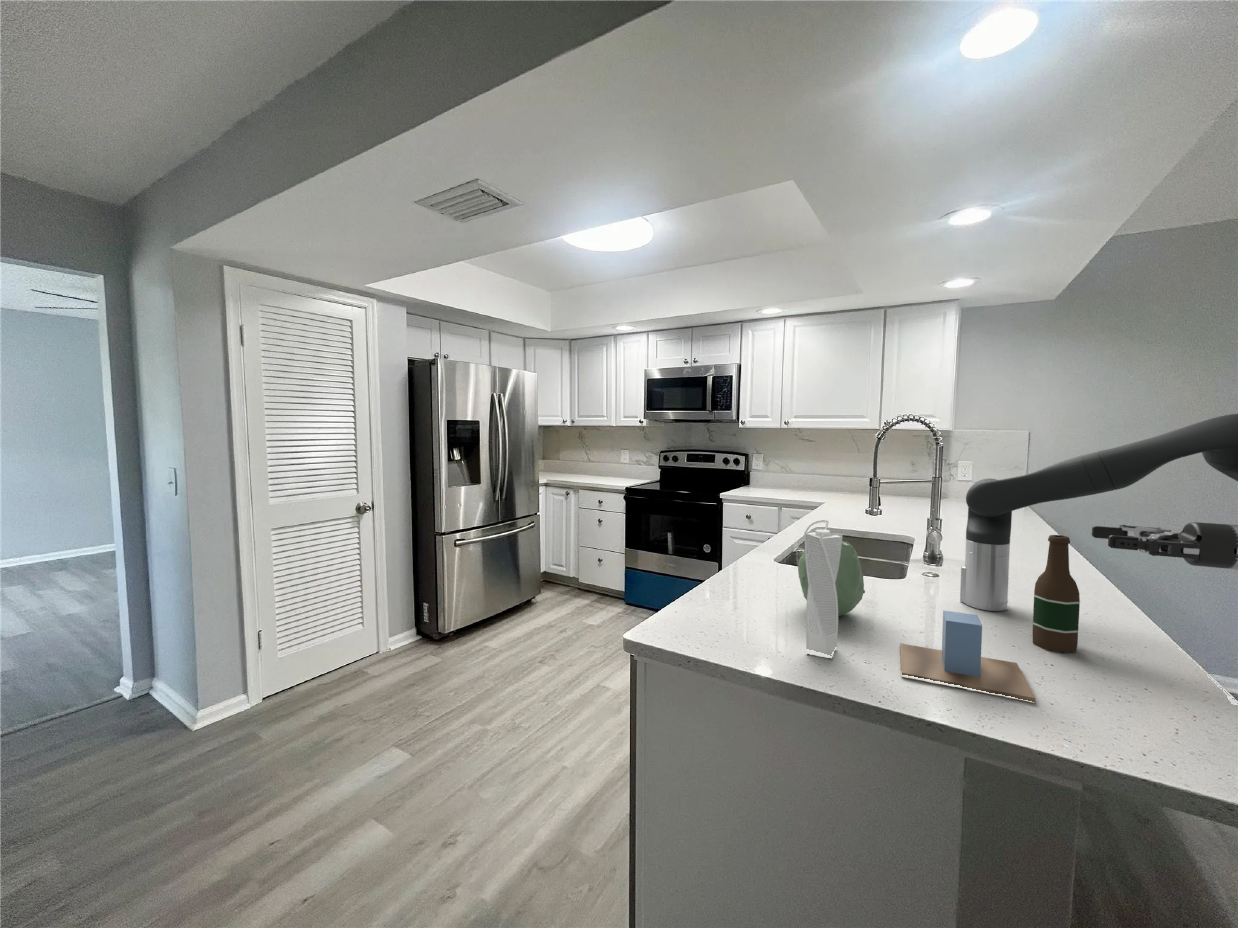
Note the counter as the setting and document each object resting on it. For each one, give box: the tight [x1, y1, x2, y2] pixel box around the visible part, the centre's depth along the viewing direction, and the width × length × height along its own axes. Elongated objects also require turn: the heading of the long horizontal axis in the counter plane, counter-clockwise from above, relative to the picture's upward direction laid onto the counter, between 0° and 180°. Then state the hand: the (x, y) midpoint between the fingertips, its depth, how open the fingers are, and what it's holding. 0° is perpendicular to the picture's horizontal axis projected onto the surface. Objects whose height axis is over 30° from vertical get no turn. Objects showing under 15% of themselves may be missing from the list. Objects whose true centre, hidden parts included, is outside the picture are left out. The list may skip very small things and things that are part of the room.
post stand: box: [899, 642, 1036, 703], centre depth 96 cm, size 20×14×8 cm
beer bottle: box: [1031, 534, 1081, 654], centre depth 105 cm, size 8×8×24 cm
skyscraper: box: [803, 519, 843, 656], centre depth 105 cm, size 8×8×28 cm
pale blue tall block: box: [941, 609, 983, 677], centre depth 95 cm, size 6×6×10 cm
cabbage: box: [797, 540, 866, 617], centre depth 126 cm, size 16×19×20 cm
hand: (1100, 536), depth 92 cm, fingers open, 8 cm apart
